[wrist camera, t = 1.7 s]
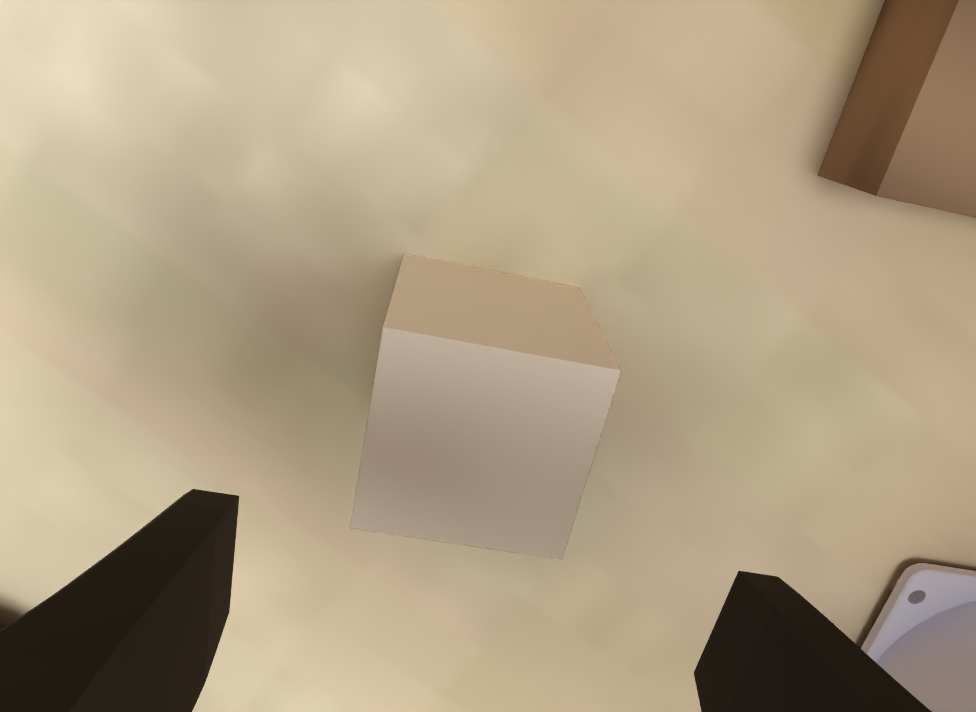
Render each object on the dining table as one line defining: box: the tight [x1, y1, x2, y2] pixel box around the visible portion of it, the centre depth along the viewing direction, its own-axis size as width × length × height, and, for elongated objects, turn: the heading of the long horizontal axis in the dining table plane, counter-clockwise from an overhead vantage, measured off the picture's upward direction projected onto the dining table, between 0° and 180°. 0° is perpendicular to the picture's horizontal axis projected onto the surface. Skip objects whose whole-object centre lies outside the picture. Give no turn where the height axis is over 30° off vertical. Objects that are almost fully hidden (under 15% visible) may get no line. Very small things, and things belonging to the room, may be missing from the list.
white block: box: [350, 254, 621, 560], centre depth 16 cm, size 4×4×5 cm
